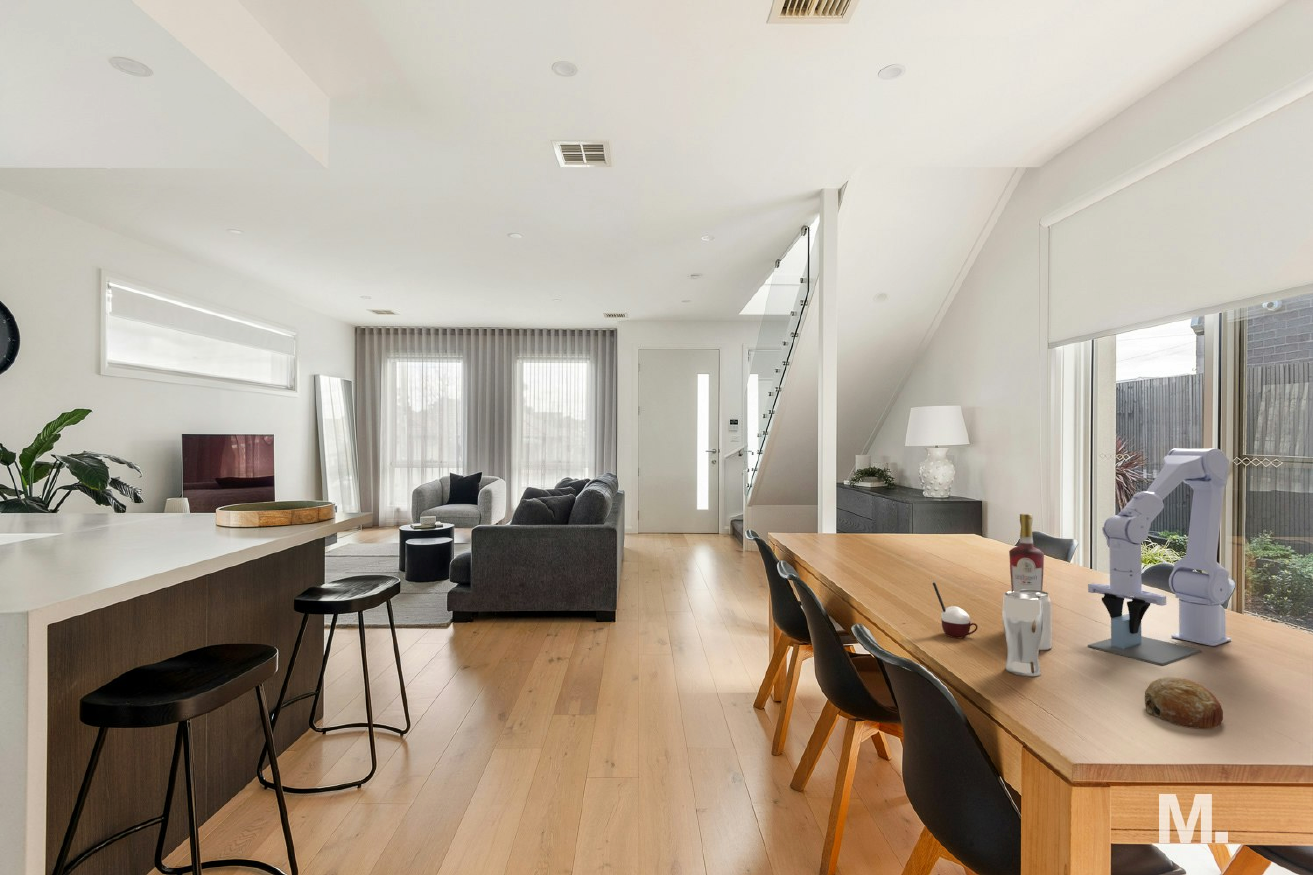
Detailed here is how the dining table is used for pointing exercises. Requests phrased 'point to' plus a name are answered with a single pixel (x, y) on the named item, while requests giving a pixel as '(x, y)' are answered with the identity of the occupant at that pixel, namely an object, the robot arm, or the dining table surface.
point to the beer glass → (1023, 632)
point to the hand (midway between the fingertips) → (1125, 630)
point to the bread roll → (1183, 703)
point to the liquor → (1026, 560)
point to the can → (1044, 618)
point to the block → (1123, 633)
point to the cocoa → (954, 620)
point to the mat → (1149, 650)
